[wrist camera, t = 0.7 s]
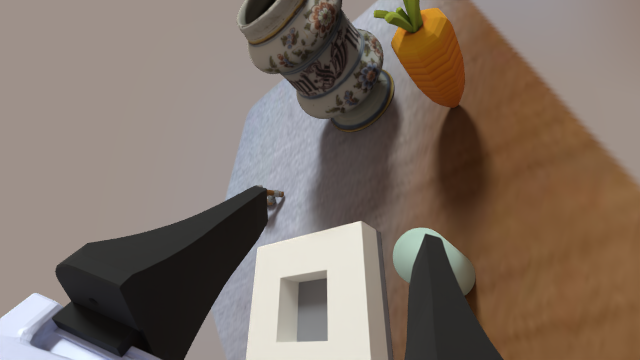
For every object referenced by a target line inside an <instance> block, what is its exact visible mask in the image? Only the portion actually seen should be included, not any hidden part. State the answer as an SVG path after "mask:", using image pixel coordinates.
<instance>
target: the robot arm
mask: <svg viewBox="0 0 640 360" xmlns="http://www.w3.org/2000/svg"><path fill="white" fill-rule="evenodd" d="M267 222H268V213H267V189H266V188H262V187H259V186H253V187H251V188H249V189H247V190H245V191H244V192H242V193H240V194H238V195H236V196H234V197H232V198H230V199H228V200H227V201H225V202H223V203H221V204H219V205H217V206H215V207H212V208H210V209H208V210H206V211H204V212H202V213H200V214H197V215H195V216H193V217H190V218H188V219H185V220H182V221H179V222H177V223H174V224H171V225H168V226H164V227H161V228H158V229H155V230H151V231H147V232H144V233H140V234H136V235H131V236H126V237H121V238H117V239H110V240H104V241H98V242H92V243H87V244H86V245H84V246H83V247H82V248H80V249H79V250H78V251H76V252H75V253H73V254H72V255H71V256H69V257H68V258H67V259H65V260H64V261H63V262H61V263H60V264H59V265H57V267H56V271H55V272H56V276H57V278H58V280H59V282H60V284H61V285H62V287H63V288H64V290H65V292H66V293H67V295H68V296H69V298H70V299H71V302H70V303H69V304H68V305H66V306H65V307H63V306H62V305H60V304H59V303H57V302H56V301H54V300H51V299H49V298H47V297H45V296H43V295H40V294H38V293H33V294H32V295H31V296H29V297H28V298H27V299H25V300H24V301H23V302H21V303H20V304H19V305H17V306H16V307H15V308H13V309H12V310H11V311H10V312H8V313H7V314H6V315H4V316H3V317H2V318H0V360H184V358H185V356H186V354H187V352H188V350H189V348H190V346H191V344H192V342H193V340H194V338H195V336H196V335H197V333H198V331H199V329H200V327H201V325H202V323H203V322H204V320H205V318H206V316H207V314H208V313H209V311H210V309H211V307H212V306H213V304H214V302H215V300H216V299H217V297H218V295H219V294H220V292H221V290H222V289H223V287H224V285H225V284H226V282H227V281H228V279H229V278H230V276H231V275H232V274H233V272H234V271H235V270H236V268H237V267H238V266H239V264H240V263H241V262H242V260H243V259H244V258H245V256H246V255H247V254H248V252H249V251H250V250H251V248H252V247H253V246H254V244H255V243H256V241H257V240H258V239H259V237H260V235H261V233H262V232H263V230H264V228H265V226H266V224H267ZM405 360H503V358H502V357H501V355H500V354H499V353H498V351H497V350H496V348H495V347H494V346H493V344H492V343H491V341H490V340H489V338H488V337H487V335H486V333H485V332H484V330H483V329H482V327H481V325H480V324H479V322H478V320H477V319H476V317H475V315H474V313H473V312H472V310H471V308H470V306H469V304H468V302H467V300H466V298H465V296H464V294H463V292H462V290H461V288H460V286H459V284H458V281H457V279H456V277H455V274H454V272H453V270H452V267H451V265H450V262H449V259H448V256H447V254H446V251H445V247H444V244H443V241H442V239H441V238H440V237H437V236H433V235H430V234H426V233H425V235H424V238H423V241H422V243H421V246H420V248H419V251H418V254H417V256H416V259H415V262H414V264H413V267H412V273H411V279H410V285H409V298H408V321H407V342H406V353H405Z"/></svg>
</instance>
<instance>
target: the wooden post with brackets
mask: <svg viewBox="0 0 640 360" xmlns="http://www.w3.org/2000/svg"><path fill="white" fill-rule="evenodd" d="M256 186H259V187H262V188H263V186H262V185H256ZM267 196H268V199H267V206H272V205H273V203H275V197H283V196H284V192H281V191H278V190H274V191H273V190H267Z"/></svg>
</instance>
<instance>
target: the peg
mask: <svg viewBox="0 0 640 360" xmlns="http://www.w3.org/2000/svg"><path fill="white" fill-rule="evenodd" d="M425 233H426V234H430V235H433V236H437V237H440V238H441V239H442V241H443V244H444V247H445V251H446V254H447V256H448V259H449V262H450V265H451V267H452V270H453V272H454V274H455V277H456V279H457V281H458V284H459V286H460V288H461V290H462V292H463V294H464V296H465V295H467V294H468V293H469V292H470V291H471V289H472V288H473V286H474V283H475V270H474V267H473V265H472V263H471V262H470V261H469V259H468V258H467V257H465V256H464V255H463V254H462V253H461V252H460V251H458V250H457V249H456V248H455V247H454V246H453V245H451V244H450V243H449V242H448V241H447V240H445V239H444V238H443V237H442V236H441V235H440V234H438V233H437V232H435V231H433V230H431V229H428V228H415V229H412V230H409V231H407V232H406V233H404V234H403V235H402V236H401V237H400V238H399V240H398V241H397V243H396V245H395V247H394V251H393V262H394V266H395V269H396V271H397V272H398V274H399V275H400V276H401V277H402V278H403V279H404V280H405V281H407V282H409V283H410V279H411V273H412V267H413V264H414V262H415V259H416V256H417V254H418V251H419V248H420V246H421V243H422V241H423V238H424V235H425Z"/></svg>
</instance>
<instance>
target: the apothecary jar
mask: <svg viewBox="0 0 640 360" xmlns="http://www.w3.org/2000/svg"><path fill="white" fill-rule="evenodd" d="M341 7H342V0H245V2H244V3H243V5H242V7H241V9H240V11H239V13H238V16H237V25H238V27H239V29H240V30H241V31H242V33H244V35H245V37H246V38H247V40H248V52H249V56H250V59H251V61H252V62H253V63H254V65H255V66H256V67H257V68H258V69H260V70H261V71H263V72H266V73H269V74H277V73H280V74H281V75H282V76H284V78H286V79H287V80H288V81H289V82H290V83H291V84H292V86H293V87H294V88H295V89H296V93H297V99H298V102H299V104H300V106H301V108H302V109H303V110H304V111H305V112H306V113H307V114H309V115H310V116H312V117H315V118H319V119H329V118H331V121H332V123H333V125H334V126H335V127H336V128H337V129H339V130H341V131H344V132H354V131H358V130H361V129H363V128H365V127H367V126H369V125H370V124H372V123H373V122H375V121H376V120H377V119H378V118H379V117H380V116H381V115H382V114H383V113H384V111H385V110H386V108H387V107H388V105H389V103H390V101H391V99H392V96H393V91H394V83H393V79H392V77H391V75H390V74H389V73H388V72H387V71H385V70H383V69H382V66H383V50H382V47H381V44H380V42H379V41H378V39H377V38H376V37H375V36H374V35H373V34H371V33H370V32H368V31H365V30H361V29H356V28H355V27H354V26H353V25H352V23H351V22H350V21H349V19H348V18H347V17H346V15H345V14H344V12H343V11H342V10H341Z"/></svg>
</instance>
